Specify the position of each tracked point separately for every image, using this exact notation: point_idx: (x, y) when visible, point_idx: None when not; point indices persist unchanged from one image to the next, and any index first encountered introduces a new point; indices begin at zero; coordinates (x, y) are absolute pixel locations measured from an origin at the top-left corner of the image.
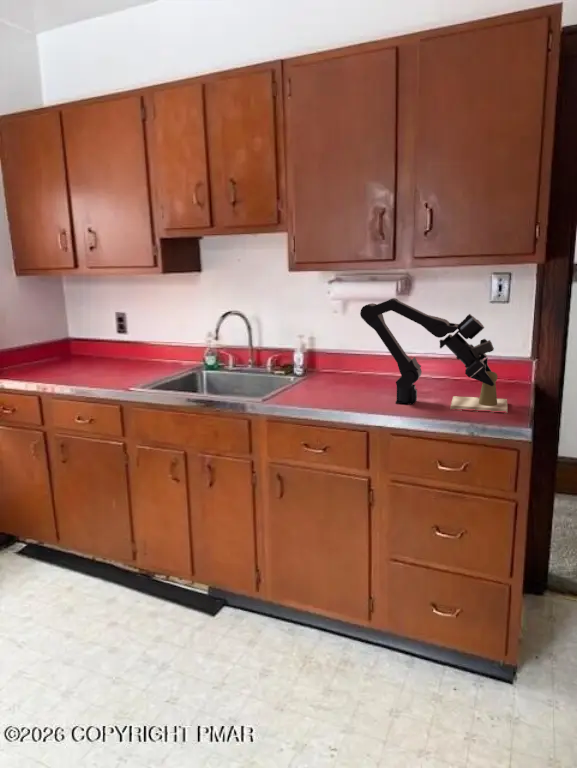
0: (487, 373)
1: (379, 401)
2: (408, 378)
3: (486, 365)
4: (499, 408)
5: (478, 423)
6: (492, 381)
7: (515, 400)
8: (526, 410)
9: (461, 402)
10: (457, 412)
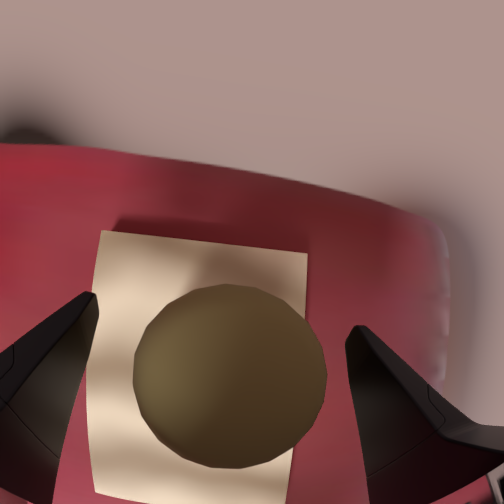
0: (303, 416)
1: None
2: None
3: (3, 415)
4: (305, 292)
5: (436, 369)
6: (382, 342)
7: (59, 191)
8: (232, 168)
9: (215, 474)
10: (316, 467)
